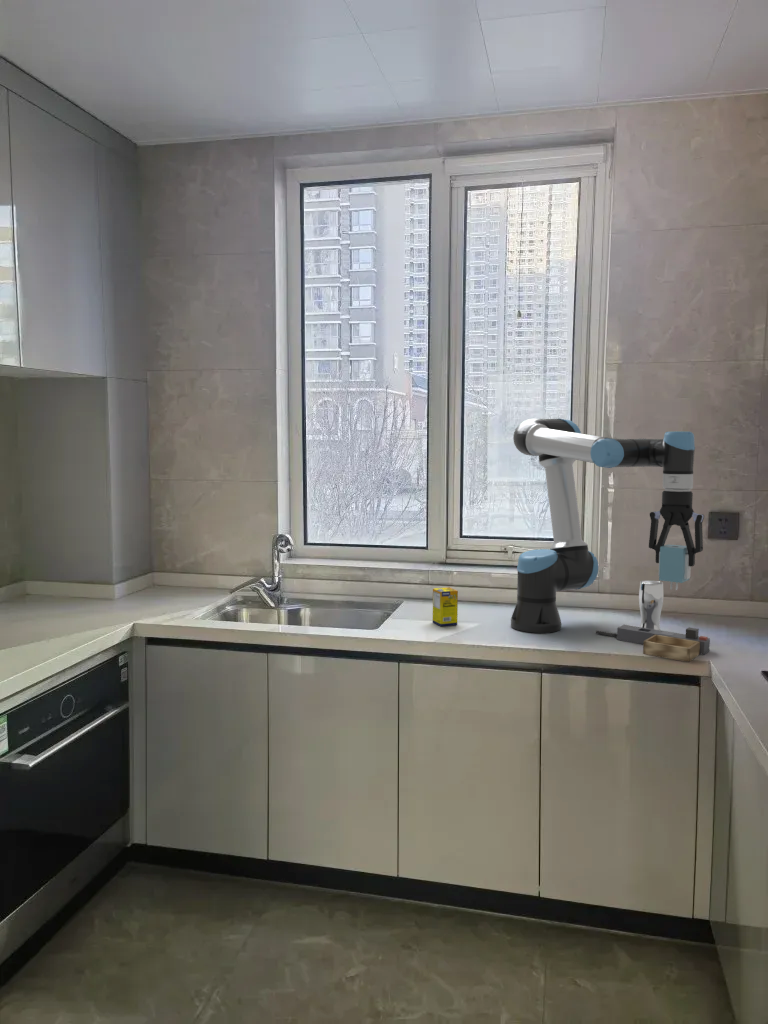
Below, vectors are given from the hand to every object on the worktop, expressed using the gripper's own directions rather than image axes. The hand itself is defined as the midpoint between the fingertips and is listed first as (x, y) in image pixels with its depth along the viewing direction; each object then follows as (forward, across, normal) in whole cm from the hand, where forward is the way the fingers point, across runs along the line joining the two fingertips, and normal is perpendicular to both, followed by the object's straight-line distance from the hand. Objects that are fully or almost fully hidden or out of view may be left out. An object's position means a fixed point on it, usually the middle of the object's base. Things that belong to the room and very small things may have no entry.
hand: (674, 576), depth 204 cm
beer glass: (+21, -13, +20) cm, 32 cm away
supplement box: (+21, -66, -10) cm, 70 cm away
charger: (+3, 0, 0) cm, 3 cm away
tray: (+21, 0, 0) cm, 21 cm away
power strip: (+21, -9, +7) cm, 24 cm away
